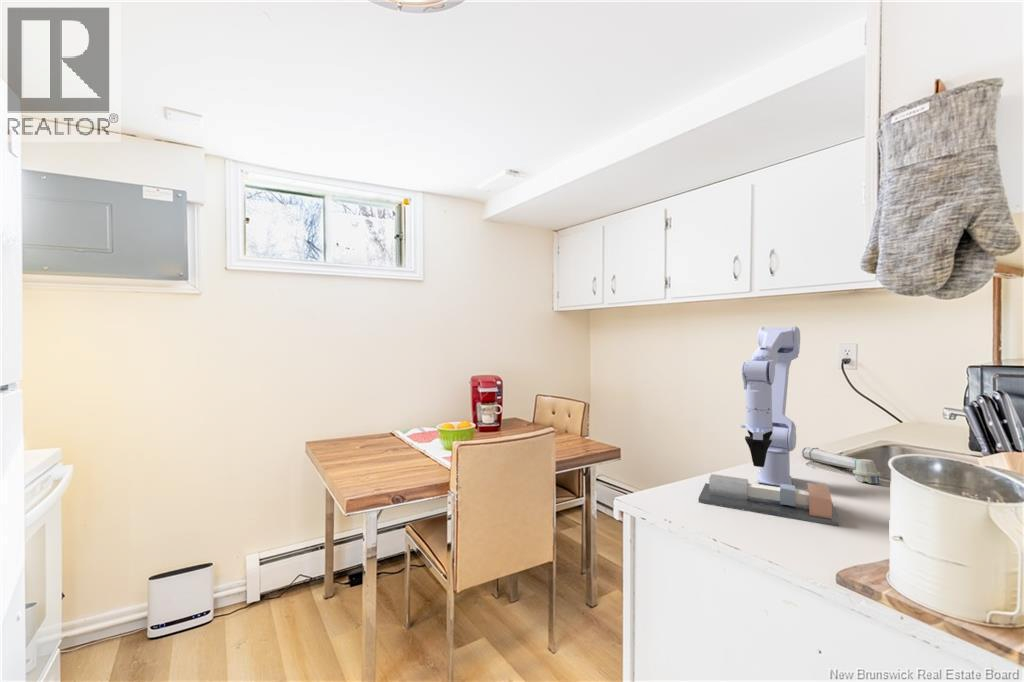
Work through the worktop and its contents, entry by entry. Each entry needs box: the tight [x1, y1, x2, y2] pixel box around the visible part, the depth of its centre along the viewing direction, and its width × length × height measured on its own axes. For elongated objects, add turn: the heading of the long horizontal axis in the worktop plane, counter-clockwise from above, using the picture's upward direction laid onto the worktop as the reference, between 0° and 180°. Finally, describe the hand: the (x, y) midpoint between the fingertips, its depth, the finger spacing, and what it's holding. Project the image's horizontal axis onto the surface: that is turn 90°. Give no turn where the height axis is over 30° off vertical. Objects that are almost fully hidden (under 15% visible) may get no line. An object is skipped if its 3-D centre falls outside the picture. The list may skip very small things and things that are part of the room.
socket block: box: [806, 482, 833, 519], centre depth 101 cm, size 10×4×4 cm, turn 148°
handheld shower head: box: [801, 447, 881, 484], centre depth 130 cm, size 5×7×25 cm
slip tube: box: [747, 482, 809, 506], centre depth 105 cm, size 4×16×4 cm, turn 58°
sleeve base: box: [698, 473, 839, 527], centre depth 107 cm, size 12×28×5 cm, turn 58°
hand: (759, 462), depth 109 cm, fingers open, 7 cm apart
